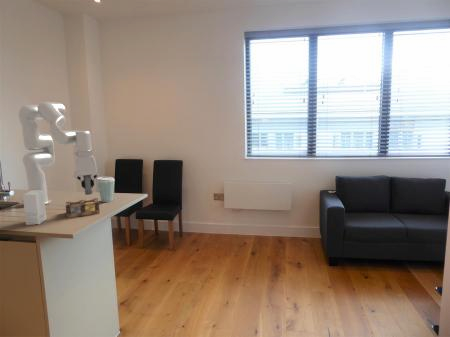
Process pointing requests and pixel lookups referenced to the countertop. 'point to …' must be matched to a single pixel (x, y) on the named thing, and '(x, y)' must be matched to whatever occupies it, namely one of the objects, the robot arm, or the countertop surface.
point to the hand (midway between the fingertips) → (88, 187)
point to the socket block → (82, 207)
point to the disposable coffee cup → (106, 188)
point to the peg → (87, 184)
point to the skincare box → (34, 207)
